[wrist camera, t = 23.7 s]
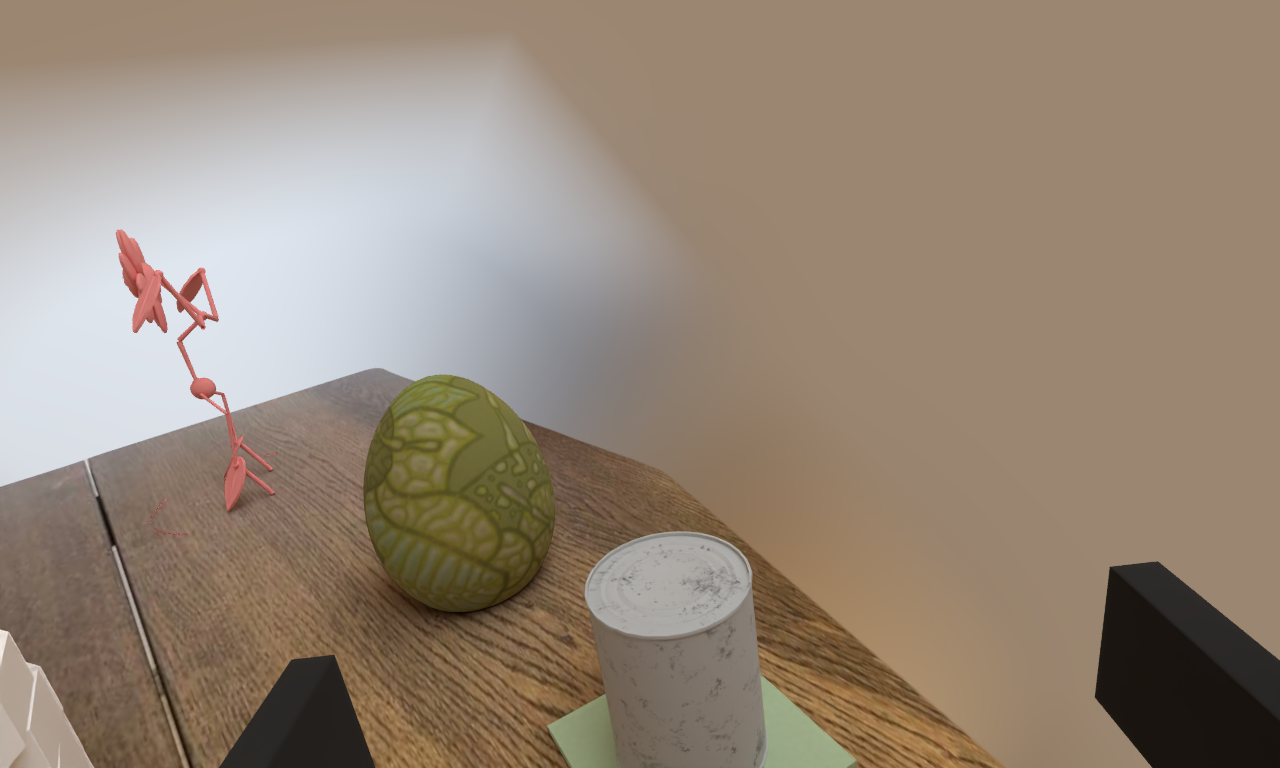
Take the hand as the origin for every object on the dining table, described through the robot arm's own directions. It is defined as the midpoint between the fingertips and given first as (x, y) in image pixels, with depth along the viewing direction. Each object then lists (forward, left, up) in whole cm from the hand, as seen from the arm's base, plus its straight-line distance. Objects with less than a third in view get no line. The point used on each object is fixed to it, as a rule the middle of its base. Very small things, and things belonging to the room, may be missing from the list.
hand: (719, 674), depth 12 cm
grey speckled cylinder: (-10, -21, -27) cm, 36 cm away
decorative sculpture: (-5, -49, -28) cm, 56 cm away
